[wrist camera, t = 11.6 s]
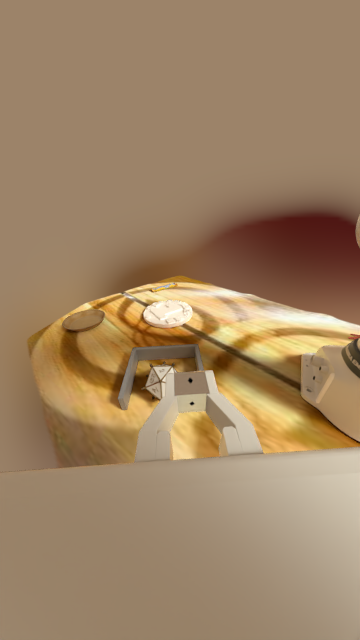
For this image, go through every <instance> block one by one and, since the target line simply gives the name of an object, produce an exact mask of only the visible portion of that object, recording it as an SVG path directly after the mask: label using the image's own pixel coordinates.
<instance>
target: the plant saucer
mask: <svg viewBox="0 0 360 640" xmlns="http://www.w3.org/2000/svg"><path fill="white" fill-rule="evenodd" d="M104 317H105V313H104V312H103V311H101V310H85V311H81V312H78V313H75V314H73V315H71V316H69V317H67V318H66V319H65V320H64V321H63V323H62V325H63V327H64V328H66V329H68V330H72V331H78V332H80V331H87V330H90V329H93V328H95V327H96V326H98V325H99V324H100V323H101V322H102V321H103V319H104Z"/></svg>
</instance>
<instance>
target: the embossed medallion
mask: <svg viewBox="0 0 360 640" xmlns="http://www.w3.org/2000/svg"><path fill="white" fill-rule="evenodd" d="M143 314H144V320H145V321H146V322H147V323H148V324H150V325H152V326H155V327H162V328H171V327H175V326H180V325H182V324H184V323H186V322H187V321H189V320H190V318H191V317H192V308H191V306H189V305H188V304H187V303H184V302H180V301H178V300H175V301H172V300H167V301H163V302H162V301H159V302H158V303H157V302H155V303H153V304H152V305H150V306H148V307H147V308H146V309H145V311H144V313H143Z"/></svg>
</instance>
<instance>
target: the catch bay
mask: <svg viewBox="0 0 360 640" xmlns="http://www.w3.org/2000/svg"><path fill="white" fill-rule="evenodd" d="M190 357H195V362H196V368H197V371H204V369H203V364H202V360H201V355H200V351H199V346H198V344H189V345H171V346H153V347H135V348H133V349H132V352H131V356H130V359H129V363H128V366H127V369H126V373H125V376H124V379H123V383H122V386H121V390H120V393H119V396H118V401H119V403H120V406H121V408H122V410H127V408H128V403H129V399H130V395H131V390H132V386H133V382H134V377H135V373H136V369H137V364H138V361H139V360H156V359H173V358H190Z"/></svg>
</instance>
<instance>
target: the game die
mask: <svg viewBox="0 0 360 640" xmlns="http://www.w3.org/2000/svg"><path fill="white" fill-rule="evenodd" d="M165 363H166V362H165V361H164V362H163V365H157V366H152V364H150V367H151V370H150V373H149V375H146V377H148V379H147V382H146V385H145V387H142V388H141V390H144V389H146V390H147V391H148V392H150V393H151V394H152V395H153V397H152V399H154V398H155V397H156V398H157V399H159V400H161V399H162V397H165V389H166V373H177V371H176V370H175V368H174V367H173V366H174V365H175V363H173V364H172V366H171V365H165Z"/></svg>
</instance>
